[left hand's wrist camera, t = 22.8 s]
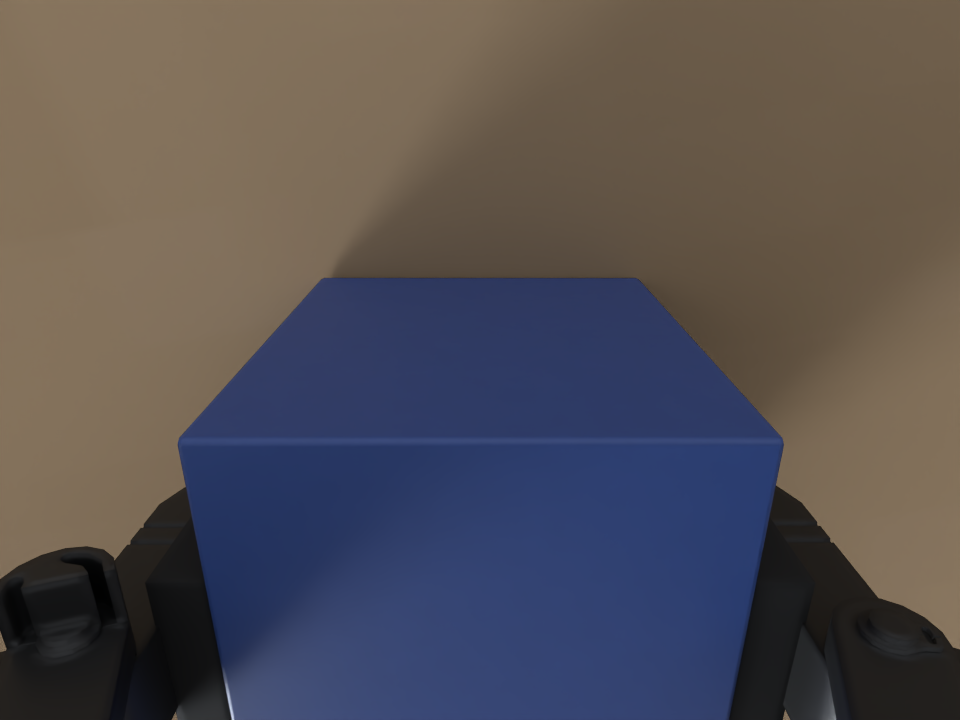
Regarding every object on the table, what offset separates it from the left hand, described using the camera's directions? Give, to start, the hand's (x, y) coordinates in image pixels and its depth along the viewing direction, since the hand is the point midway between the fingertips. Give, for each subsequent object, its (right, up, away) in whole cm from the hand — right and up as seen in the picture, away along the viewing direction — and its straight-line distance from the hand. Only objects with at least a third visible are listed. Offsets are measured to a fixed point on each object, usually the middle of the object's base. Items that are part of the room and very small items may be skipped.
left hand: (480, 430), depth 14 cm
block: (0, 0, 0) cm, 1 cm away
